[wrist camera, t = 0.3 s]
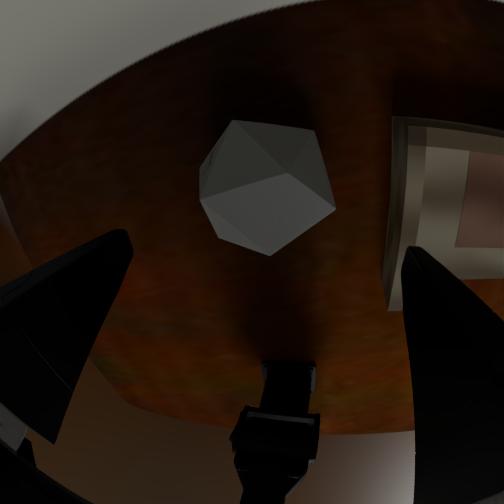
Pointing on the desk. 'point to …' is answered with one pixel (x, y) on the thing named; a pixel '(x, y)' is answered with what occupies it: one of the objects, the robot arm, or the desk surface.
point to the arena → (445, 199)
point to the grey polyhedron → (264, 185)
